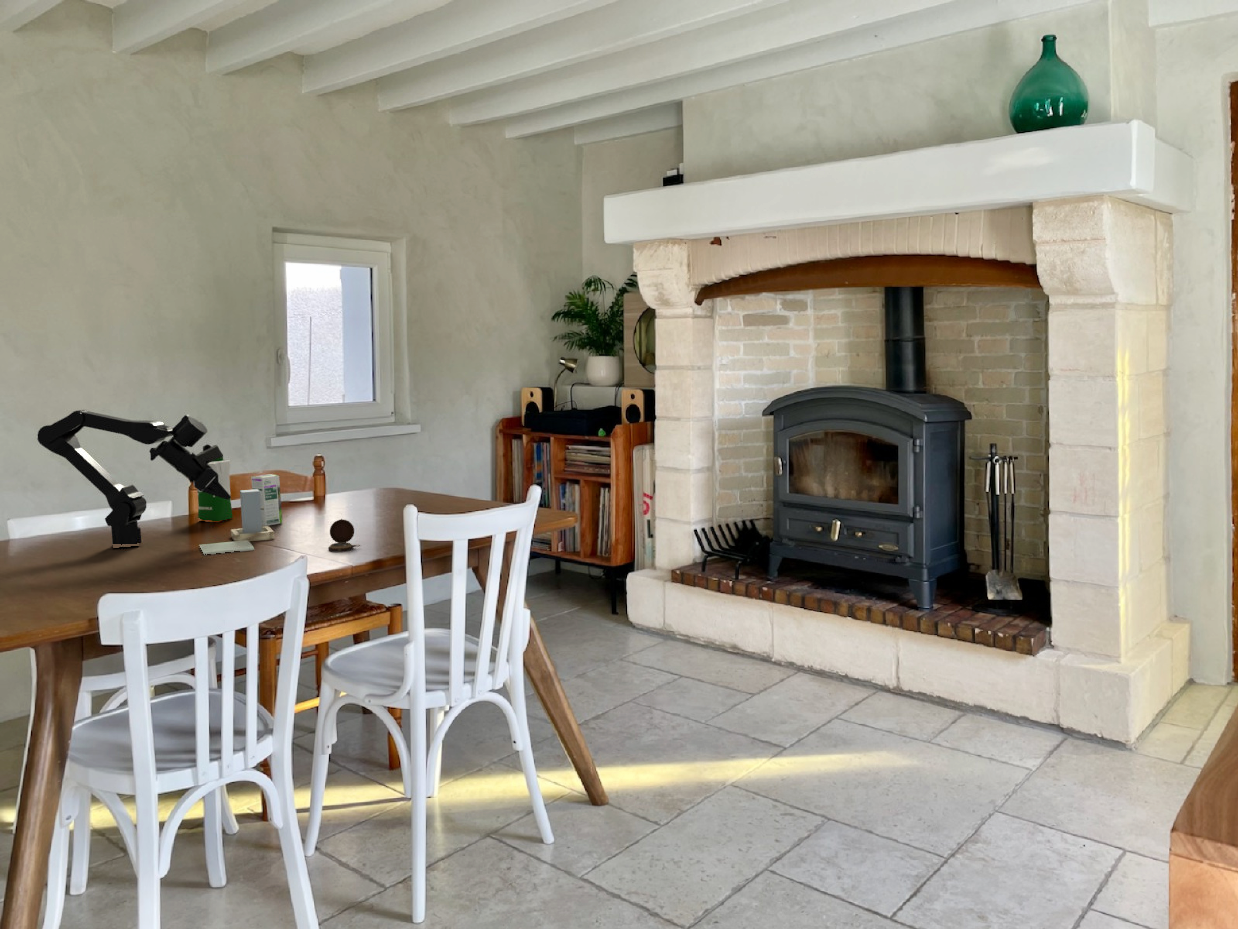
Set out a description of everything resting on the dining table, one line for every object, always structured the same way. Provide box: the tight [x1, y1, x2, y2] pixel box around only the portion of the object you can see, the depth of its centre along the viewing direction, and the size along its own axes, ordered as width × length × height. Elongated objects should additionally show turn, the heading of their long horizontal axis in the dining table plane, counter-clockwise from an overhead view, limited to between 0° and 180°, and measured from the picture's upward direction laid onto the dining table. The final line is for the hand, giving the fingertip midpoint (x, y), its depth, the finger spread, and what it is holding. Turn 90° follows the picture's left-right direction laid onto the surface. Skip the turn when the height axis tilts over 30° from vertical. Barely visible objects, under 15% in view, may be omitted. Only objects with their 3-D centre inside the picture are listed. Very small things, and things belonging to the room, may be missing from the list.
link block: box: [239, 489, 263, 534], centre depth 273 cm, size 4×4×13 cm
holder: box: [230, 526, 275, 542], centre depth 273 cm, size 10×10×2 cm
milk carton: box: [196, 452, 234, 521], centre depth 301 cm, size 9×9×20 cm
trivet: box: [198, 540, 255, 556], centre depth 259 cm, size 12×12×1 cm
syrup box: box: [250, 473, 283, 527], centre depth 294 cm, size 6×6×14 cm
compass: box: [328, 518, 361, 552], centre depth 256 cm, size 8×8×7 cm
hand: (227, 496), depth 269 cm, fingers open, 9 cm apart
